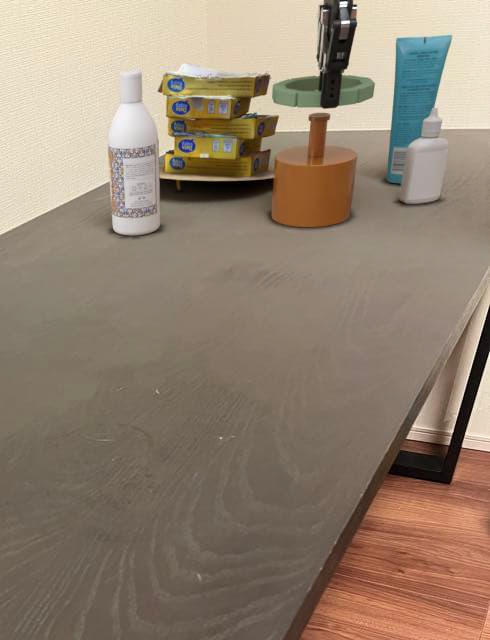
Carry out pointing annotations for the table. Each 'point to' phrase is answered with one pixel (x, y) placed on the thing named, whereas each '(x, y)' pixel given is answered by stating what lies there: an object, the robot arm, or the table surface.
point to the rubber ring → (307, 93)
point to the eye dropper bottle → (425, 164)
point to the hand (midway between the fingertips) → (327, 105)
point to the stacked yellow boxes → (215, 125)
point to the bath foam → (133, 162)
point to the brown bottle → (313, 181)
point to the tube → (413, 93)
